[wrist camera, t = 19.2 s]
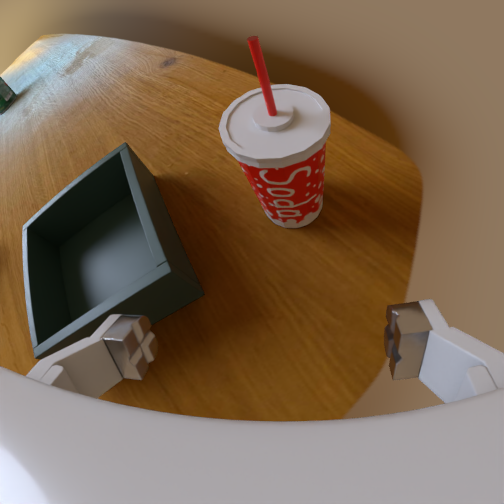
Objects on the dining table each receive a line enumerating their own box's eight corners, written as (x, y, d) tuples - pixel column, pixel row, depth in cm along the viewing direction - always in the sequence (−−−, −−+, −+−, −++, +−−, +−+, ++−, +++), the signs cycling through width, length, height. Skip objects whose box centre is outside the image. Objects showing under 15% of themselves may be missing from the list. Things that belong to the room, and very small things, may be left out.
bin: (204, 294, 22) (171, 271, 17) (79, 365, 22) (34, 358, 17) (153, 175, 28) (125, 141, 23) (56, 246, 28) (22, 225, 23)
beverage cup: (243, 228, 23) (160, 81, 11) (267, 165, 25) (217, 17, 12) (323, 245, 21) (309, 78, 9) (339, 177, 23) (332, 13, 10)
